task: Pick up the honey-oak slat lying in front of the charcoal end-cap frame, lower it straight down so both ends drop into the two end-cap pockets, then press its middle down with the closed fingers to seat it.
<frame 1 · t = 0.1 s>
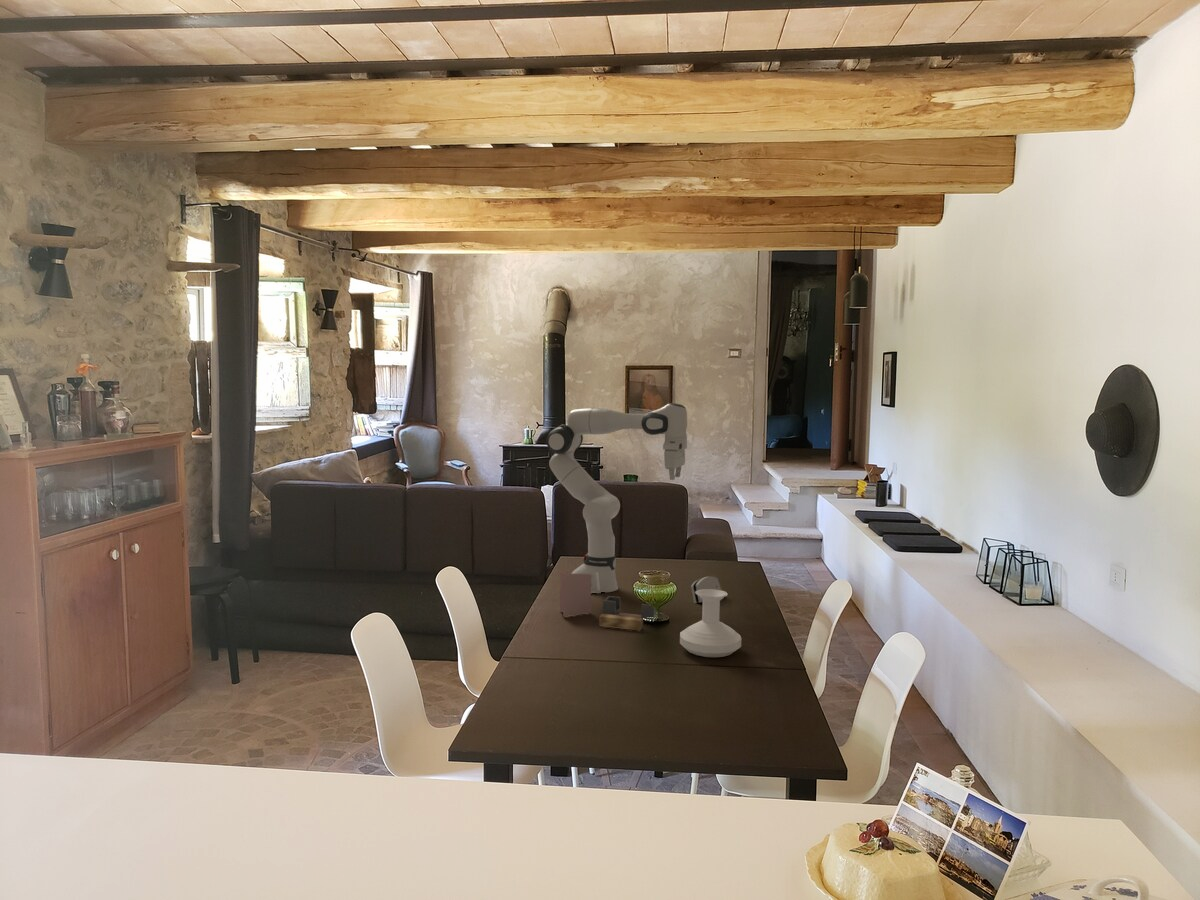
hand: (675, 478, 329), 48 cm above the table, tool pointing down, fingers open, 8 cm apart
greeting card: (574, 615, 304), on the table
end cap frame: (630, 618, 301), on the table
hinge: (707, 600, 329), on the table
oak slat: (620, 628, 290), on the table
candle holder: (710, 652, 266), on the table
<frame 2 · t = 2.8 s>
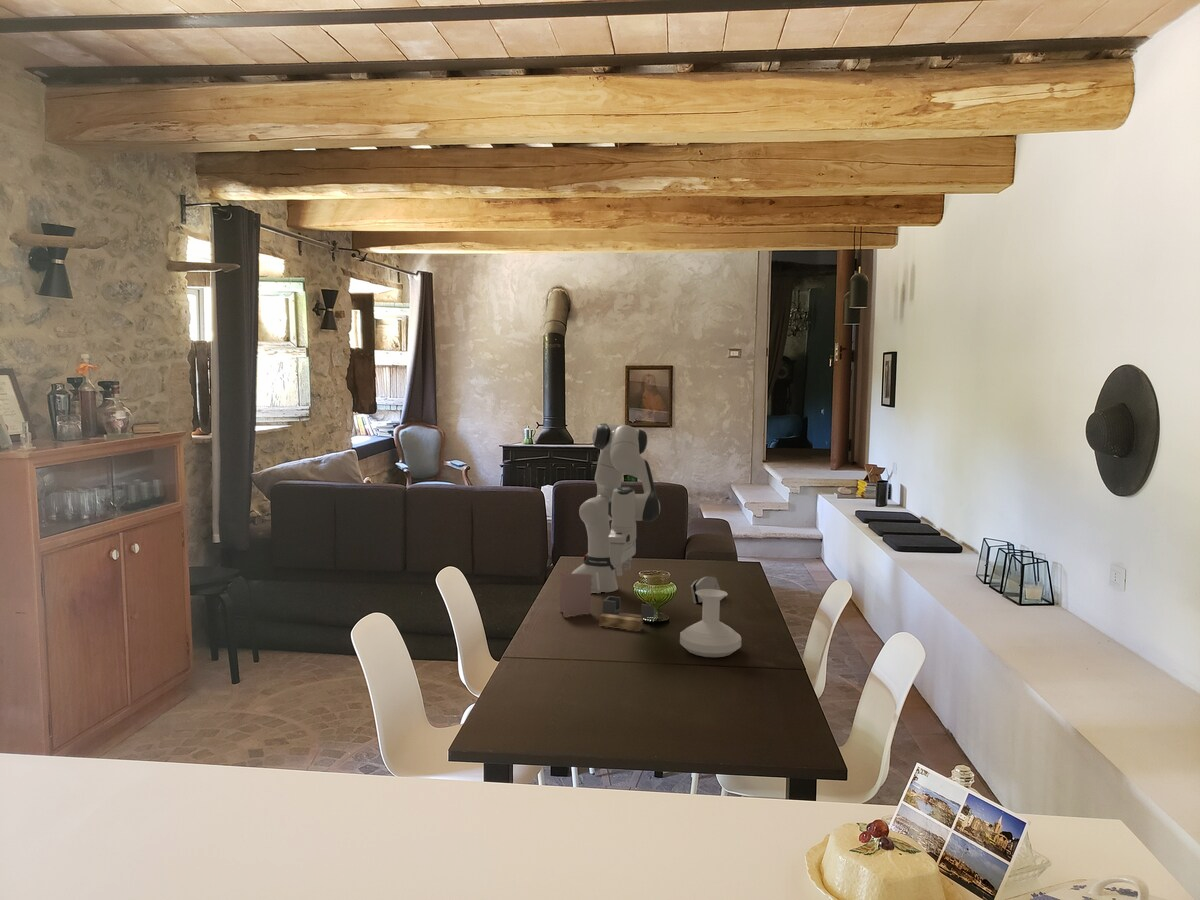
hand: (623, 572, 288), 20 cm above the table, tool pointing down, fingers open, 8 cm apart
nothing on the table moved.
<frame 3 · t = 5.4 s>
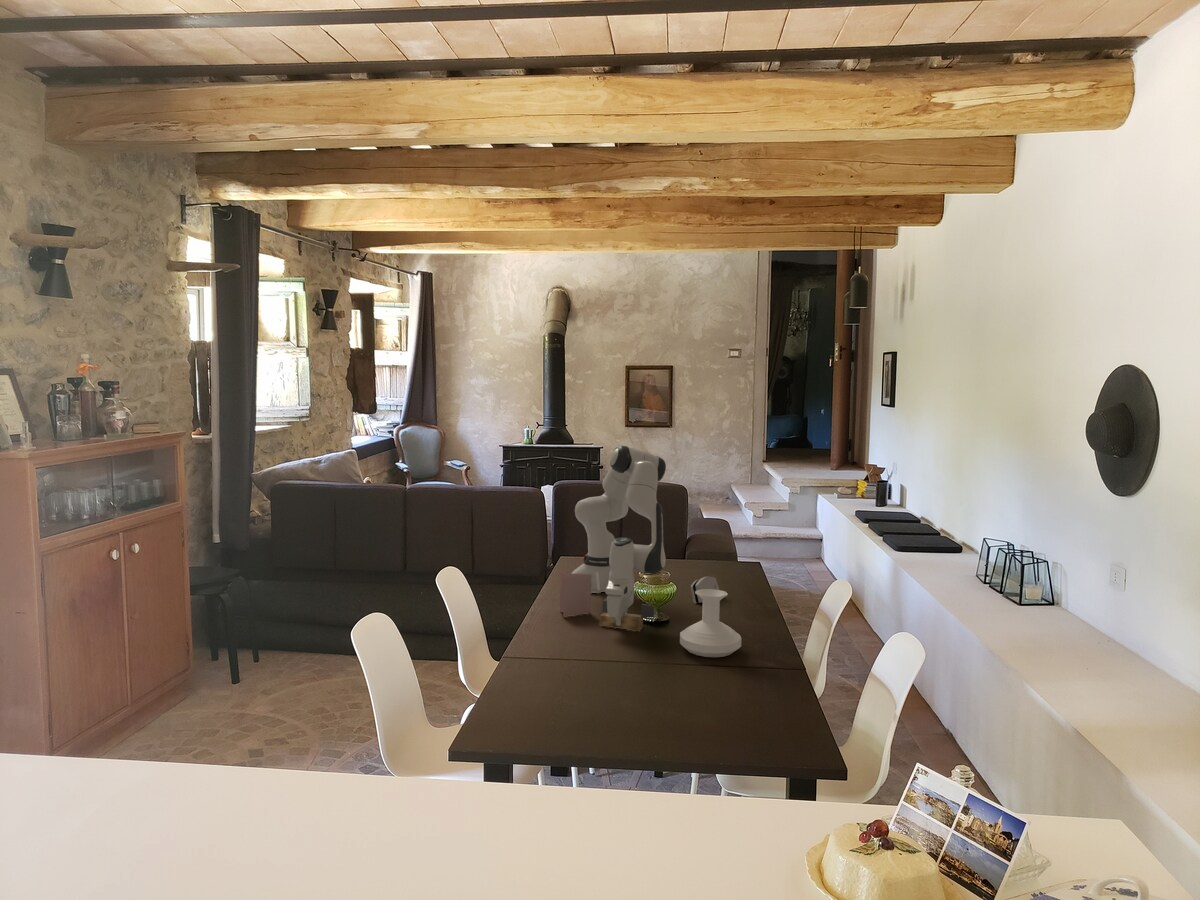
hand: (620, 623, 290), 2 cm above the table, tool pointing down, fingers closed on oak slat, 4 cm apart
oak slat: (620, 627, 290), on the table, touching gripper
everything else where it was.
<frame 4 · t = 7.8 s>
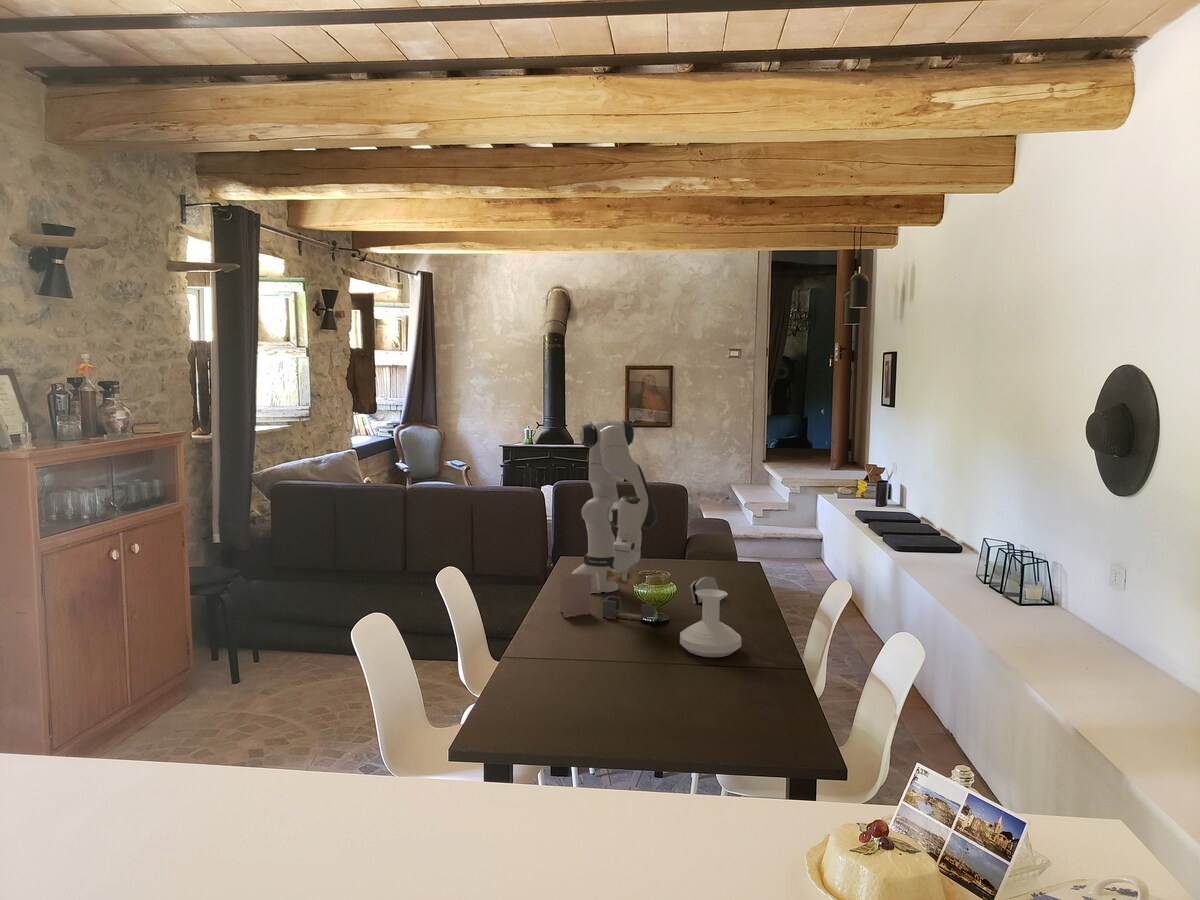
hand: (627, 578, 299), 15 cm above the table, tool pointing down, fingers closed on oak slat, 4 cm apart
oak slat: (626, 583, 299), point 13 cm above the table, touching gripper
everything else where it was.
when the fingers open (5 cm above the table, at t = 10.0 s): oak slat stays where it is, resting on end cap frame.
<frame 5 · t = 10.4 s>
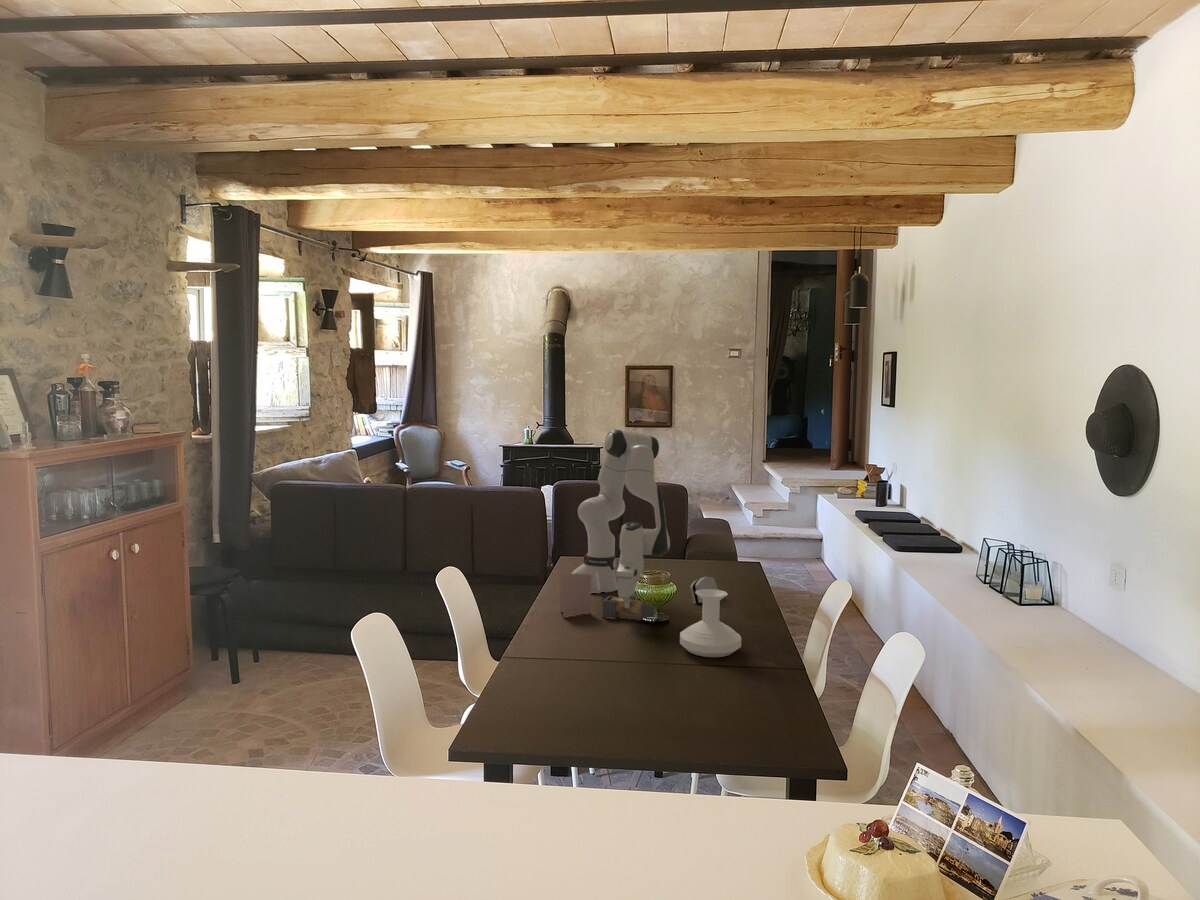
hand: (630, 604, 301), 5 cm above the table, tool pointing down, fingers open, 7 cm apart
oak slat: (630, 611, 301), point 2 cm above the table, touching end cap frame
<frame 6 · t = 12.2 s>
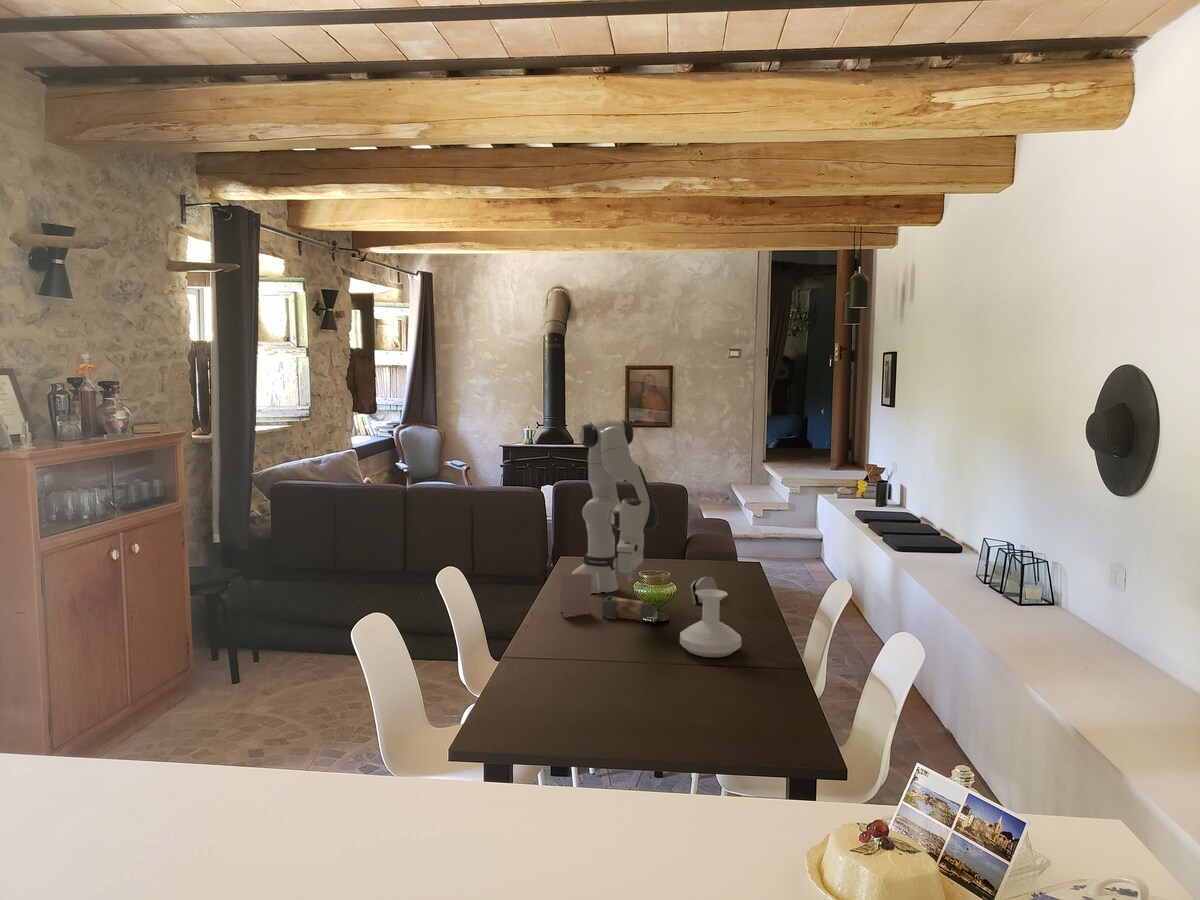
hand: (631, 580, 300), 14 cm above the table, tool pointing down, fingers closed
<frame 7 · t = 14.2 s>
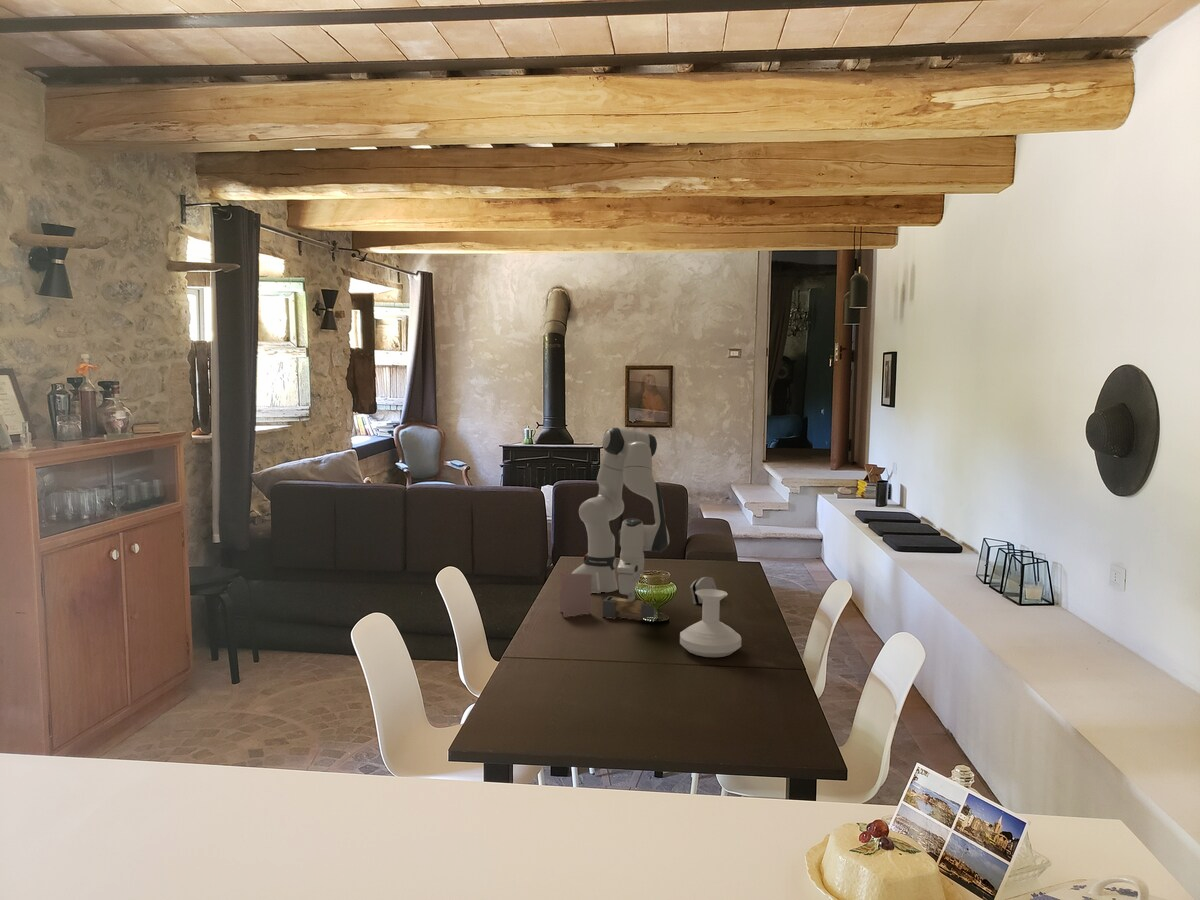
hand: (631, 600, 301), 7 cm above the table, tool pointing down, fingers closed, pressing on oak slat
oak slat: (630, 611, 301), point 2 cm above the table, touching end cap frame, gripper
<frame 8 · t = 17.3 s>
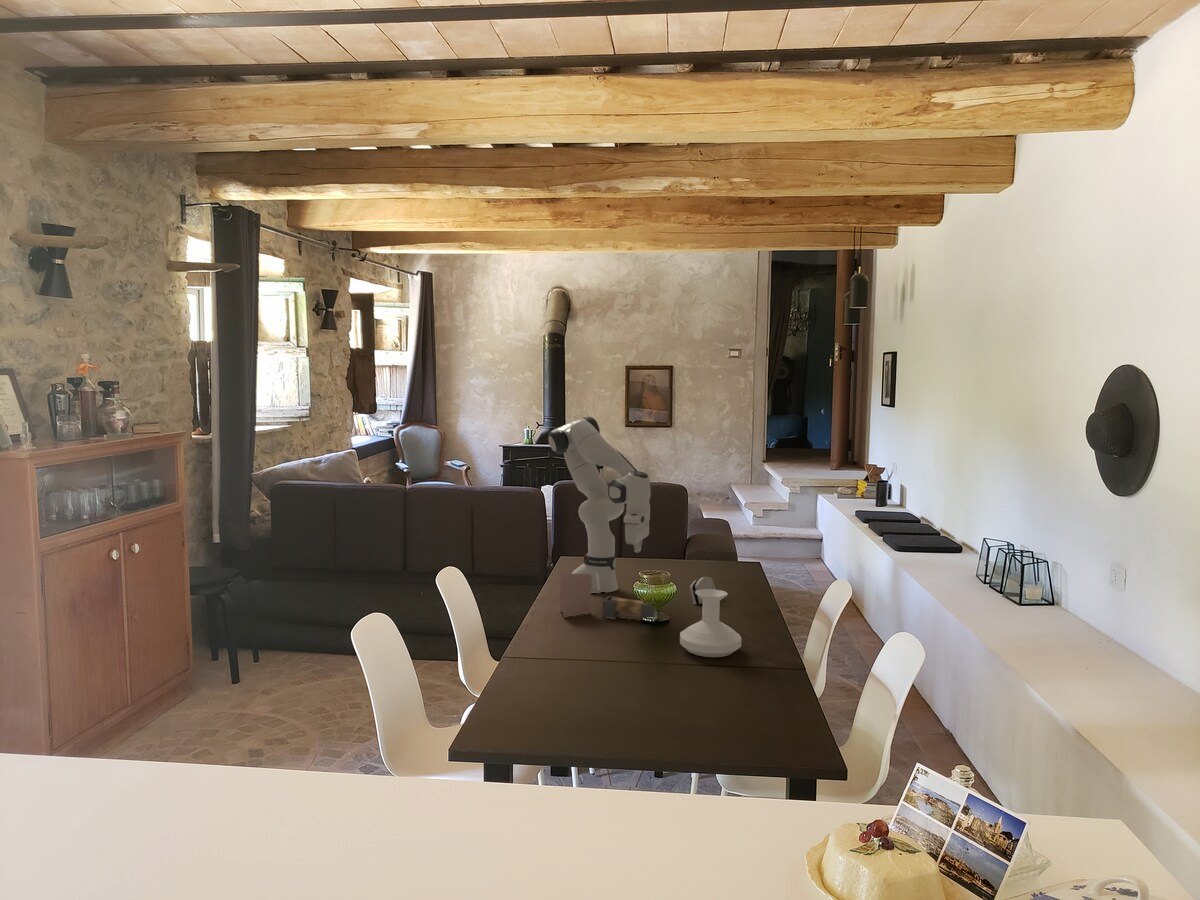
hand: (637, 551, 307), 23 cm above the table, tool pointing down, fingers closed
oak slat: (630, 611, 301), point 2 cm above the table, touching end cap frame
at the end: oak slat 0.1 cm off-centre on the end cap frame, point 2.5 cm above the end cap frame's base; oak slat tilted 0°; the gripper is holding nothing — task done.
